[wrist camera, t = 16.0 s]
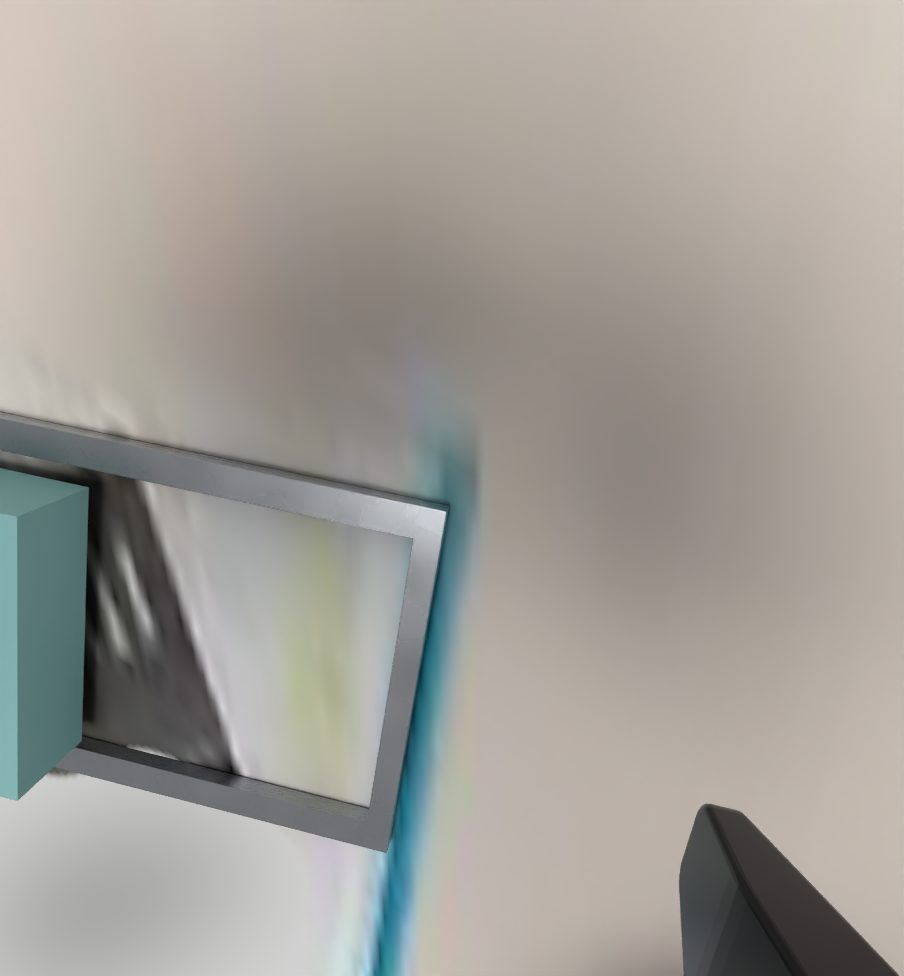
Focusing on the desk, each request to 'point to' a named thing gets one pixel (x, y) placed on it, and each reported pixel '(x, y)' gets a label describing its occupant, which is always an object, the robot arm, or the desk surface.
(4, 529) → the teal square tray
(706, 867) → the robot arm
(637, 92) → the desk surface
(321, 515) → the gray metal rectangular frame
